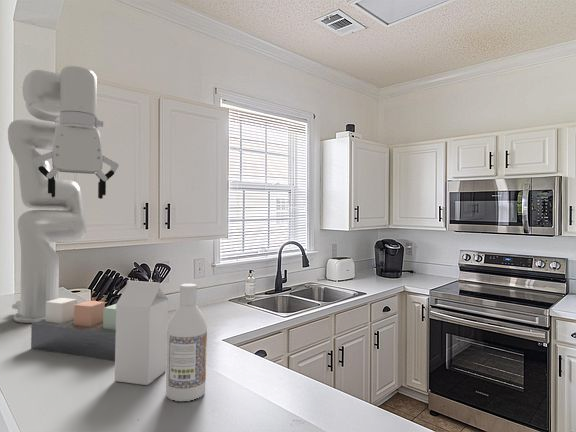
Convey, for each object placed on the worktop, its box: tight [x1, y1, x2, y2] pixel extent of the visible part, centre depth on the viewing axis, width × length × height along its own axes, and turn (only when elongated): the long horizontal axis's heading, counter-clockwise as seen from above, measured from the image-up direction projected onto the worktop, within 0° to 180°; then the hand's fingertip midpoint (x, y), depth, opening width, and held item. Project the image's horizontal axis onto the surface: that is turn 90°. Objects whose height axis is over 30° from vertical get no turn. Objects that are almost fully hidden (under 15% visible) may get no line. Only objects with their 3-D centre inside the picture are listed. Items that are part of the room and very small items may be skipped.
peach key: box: [74, 300, 106, 327], centre depth 94 cm, size 5×5×6 cm
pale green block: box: [103, 303, 117, 330], centre depth 92 cm, size 5×5×6 cm
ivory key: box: [46, 297, 78, 323], centre depth 96 cm, size 5×5×6 cm
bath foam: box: [165, 283, 208, 402], centre depth 72 cm, size 7×7×20 cm
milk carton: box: [114, 279, 169, 386], centre depth 79 cm, size 7×7×19 cm
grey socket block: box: [30, 319, 116, 362], centre depth 94 cm, size 23×10×6 cm, turn 76°
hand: (77, 197), depth 92 cm, fingers open, 9 cm apart
